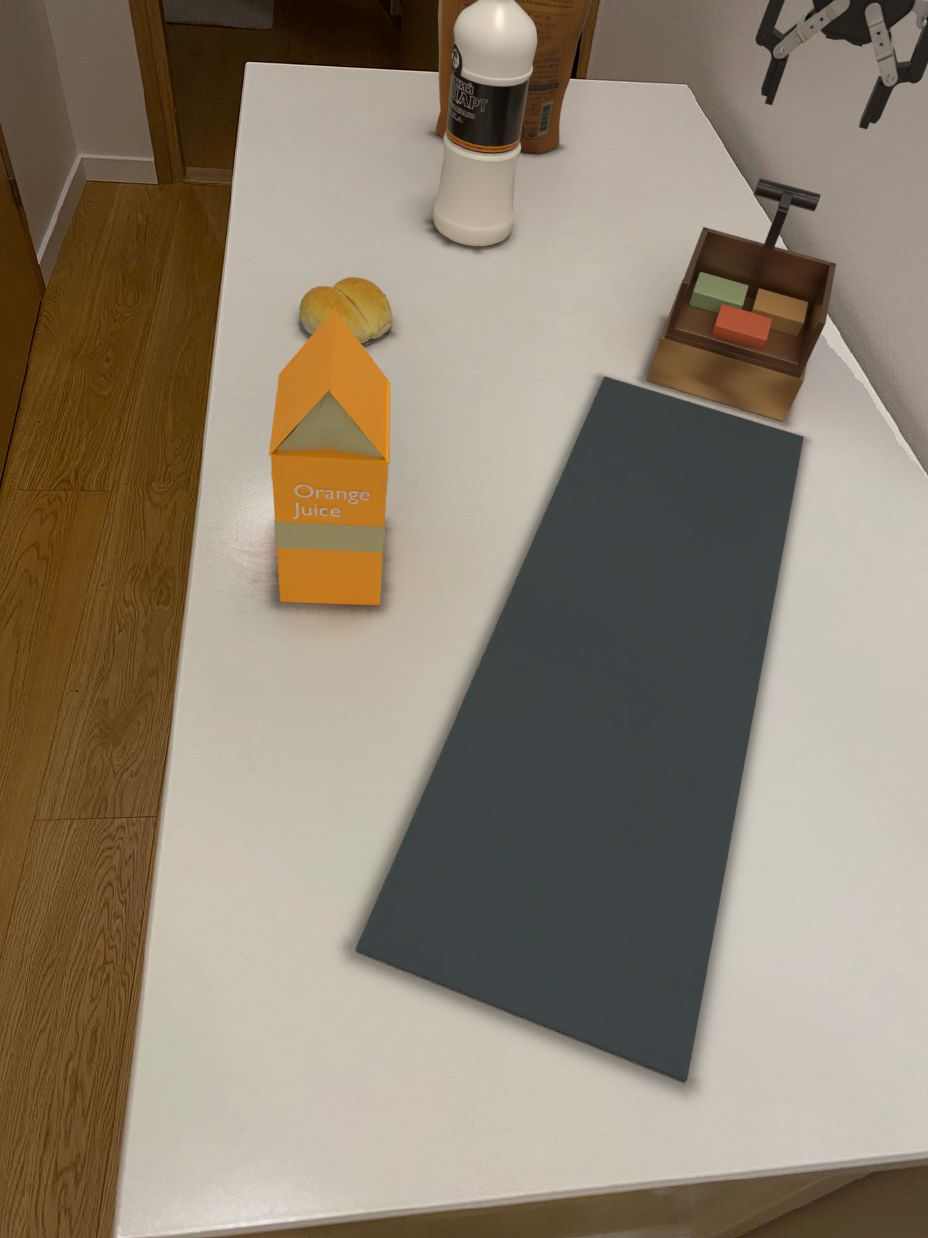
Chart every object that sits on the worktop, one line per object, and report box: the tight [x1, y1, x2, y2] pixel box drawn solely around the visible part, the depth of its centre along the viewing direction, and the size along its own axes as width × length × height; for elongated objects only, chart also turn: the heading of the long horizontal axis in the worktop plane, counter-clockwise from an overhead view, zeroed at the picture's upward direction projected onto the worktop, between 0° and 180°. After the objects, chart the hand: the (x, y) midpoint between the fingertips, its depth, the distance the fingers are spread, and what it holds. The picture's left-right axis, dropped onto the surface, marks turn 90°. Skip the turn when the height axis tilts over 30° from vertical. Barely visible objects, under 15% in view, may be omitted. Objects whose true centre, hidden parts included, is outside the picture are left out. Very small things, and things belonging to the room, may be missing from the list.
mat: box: [355, 376, 805, 1082], centre depth 73 cm, size 20×61×1 cm, turn 161°
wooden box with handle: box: [664, 177, 837, 378], centre depth 90 cm, size 13×15×10 cm
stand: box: [646, 279, 808, 422], centre depth 95 cm, size 14×12×5 cm
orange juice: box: [268, 307, 391, 606], centre depth 67 cm, size 8×9×20 cm
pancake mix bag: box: [434, 0, 593, 155], centre depth 113 cm, size 7×19×28 cm, turn 90°
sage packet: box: [689, 272, 749, 313], centre depth 94 cm, size 5×4×2 cm
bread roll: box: [299, 276, 394, 345], centre depth 93 cm, size 8×9×4 cm
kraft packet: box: [751, 288, 808, 337], centre depth 93 cm, size 5×4×2 cm
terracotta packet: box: [711, 304, 772, 350], centre depth 90 cm, size 5×4×2 cm
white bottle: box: [432, 0, 537, 247], centre depth 98 cm, size 9×9×30 cm
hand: (815, 113), depth 85 cm, fingers open, 8 cm apart
